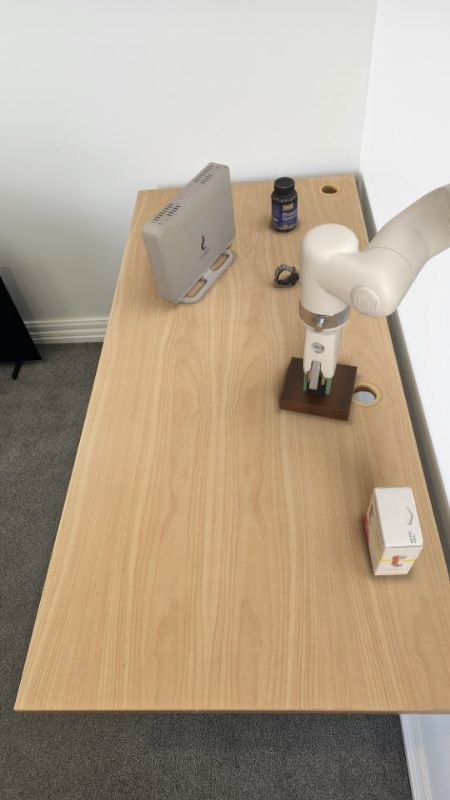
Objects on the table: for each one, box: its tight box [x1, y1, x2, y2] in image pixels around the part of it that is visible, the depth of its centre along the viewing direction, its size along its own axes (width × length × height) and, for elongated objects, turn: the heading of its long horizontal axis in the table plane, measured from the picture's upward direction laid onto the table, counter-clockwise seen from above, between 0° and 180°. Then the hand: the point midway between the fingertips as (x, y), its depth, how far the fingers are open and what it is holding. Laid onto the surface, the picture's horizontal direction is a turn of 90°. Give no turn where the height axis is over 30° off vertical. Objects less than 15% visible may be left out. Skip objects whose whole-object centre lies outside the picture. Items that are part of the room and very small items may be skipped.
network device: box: [141, 161, 237, 304], centre depth 106 cm, size 26×9×20 cm, turn 148°
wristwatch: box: [273, 263, 300, 288], centre depth 107 cm, size 3×5×5 cm
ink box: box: [363, 485, 424, 576], centre depth 69 cm, size 9×5×12 cm, turn 0°
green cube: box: [303, 372, 333, 394], centre depth 87 cm, size 4×4×4 cm
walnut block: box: [279, 356, 358, 422], centre depth 90 cm, size 12×10×3 cm
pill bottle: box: [270, 176, 299, 233], centre depth 116 cm, size 6×6×11 cm
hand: (318, 381), depth 88 cm, fingers closed on green cube, 4 cm apart
